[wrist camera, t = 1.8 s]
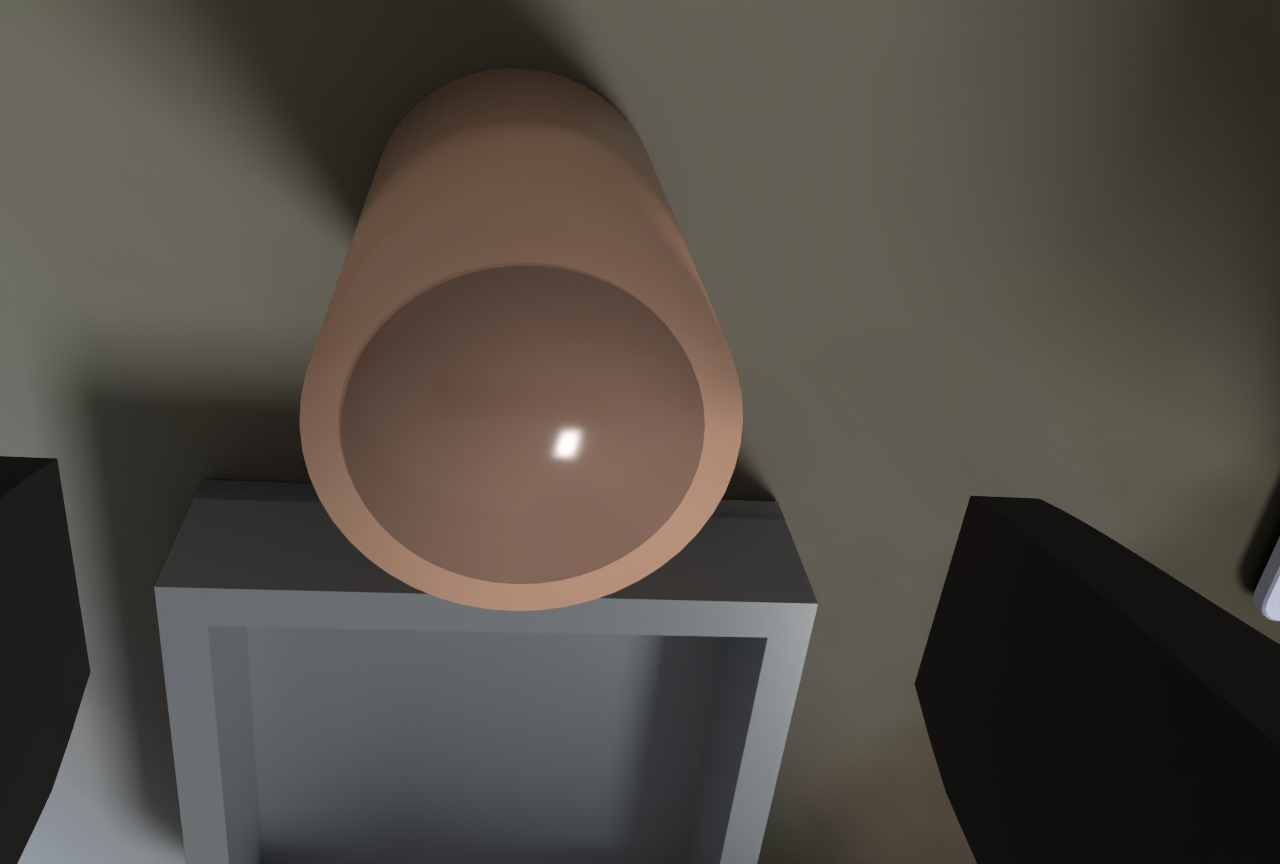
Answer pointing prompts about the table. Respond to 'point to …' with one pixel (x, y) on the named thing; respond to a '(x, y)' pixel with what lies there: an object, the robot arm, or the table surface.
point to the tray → (471, 699)
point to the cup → (519, 356)
